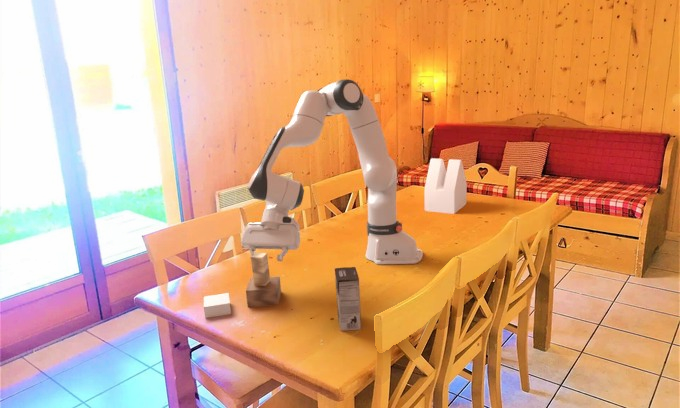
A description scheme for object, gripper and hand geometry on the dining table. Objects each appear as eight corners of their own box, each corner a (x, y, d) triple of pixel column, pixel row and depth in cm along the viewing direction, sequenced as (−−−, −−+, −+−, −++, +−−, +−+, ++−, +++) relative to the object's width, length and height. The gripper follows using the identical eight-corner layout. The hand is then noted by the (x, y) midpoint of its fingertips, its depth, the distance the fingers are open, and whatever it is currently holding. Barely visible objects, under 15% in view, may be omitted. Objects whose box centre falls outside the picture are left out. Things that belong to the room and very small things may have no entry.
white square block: (229, 303, 173) (228, 292, 172) (231, 314, 165) (229, 303, 164) (205, 307, 171) (203, 296, 170) (205, 318, 164) (203, 307, 162)
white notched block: (454, 214, 255) (454, 163, 249) (424, 211, 263) (424, 162, 256) (466, 204, 271) (466, 156, 264) (438, 201, 279) (438, 155, 272)
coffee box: (337, 316, 160) (334, 267, 155) (358, 314, 160) (355, 265, 156) (339, 331, 151) (336, 280, 147) (361, 329, 151) (359, 278, 147)
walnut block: (281, 292, 179) (279, 276, 178) (278, 305, 169) (276, 288, 168) (252, 294, 179) (250, 278, 177) (247, 307, 169) (245, 290, 168)
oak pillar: (270, 281, 174) (267, 253, 171) (265, 286, 170) (262, 257, 168) (259, 280, 175) (255, 252, 172) (254, 285, 171) (250, 257, 169)
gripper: (242, 218, 179) (233, 255, 173) (299, 219, 174) (291, 257, 168) (249, 226, 185) (241, 262, 178) (304, 227, 179) (297, 264, 173)
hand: (266, 260), depth 173 cm, fingers open, 8 cm apart
